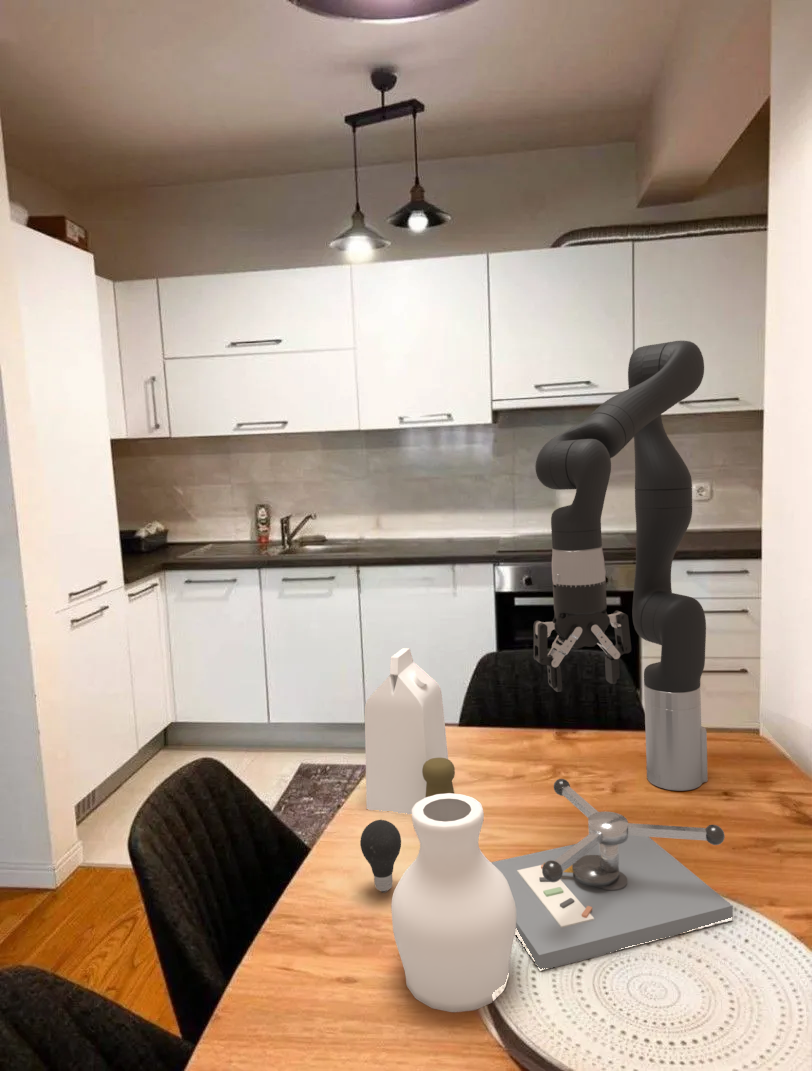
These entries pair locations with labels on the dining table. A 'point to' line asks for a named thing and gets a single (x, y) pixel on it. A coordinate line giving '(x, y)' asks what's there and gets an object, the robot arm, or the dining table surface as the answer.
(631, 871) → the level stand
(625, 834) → the capstan
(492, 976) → the vase
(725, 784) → the dining table surface
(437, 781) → the cork
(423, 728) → the milk
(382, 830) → the light bulb
